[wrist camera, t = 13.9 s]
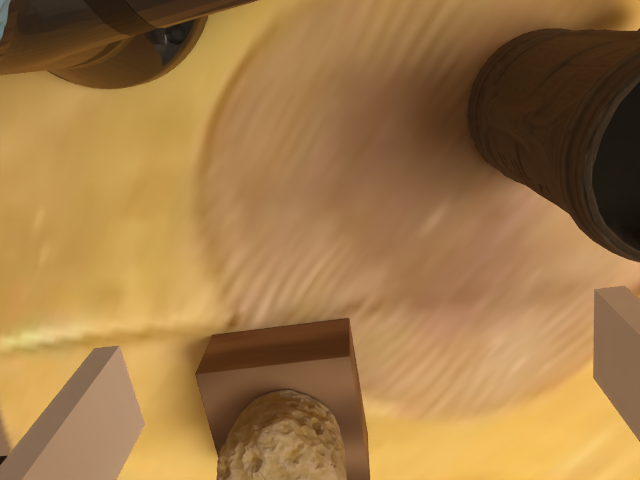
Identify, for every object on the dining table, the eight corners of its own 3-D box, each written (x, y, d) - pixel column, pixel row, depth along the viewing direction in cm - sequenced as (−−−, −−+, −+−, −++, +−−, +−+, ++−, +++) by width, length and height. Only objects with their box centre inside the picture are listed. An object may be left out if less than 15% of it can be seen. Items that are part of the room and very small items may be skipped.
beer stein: (541, 213, 43) (716, 325, 24) (431, 135, 41) (525, 190, 22) (681, 39, 39) (1022, 8, 20) (567, -54, 38) (821, -183, 19)
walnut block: (212, 335, 48) (195, 374, 43) (349, 318, 47) (349, 356, 41) (241, 445, 52) (228, 495, 47) (367, 432, 51) (370, 481, 45)
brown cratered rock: (274, 494, 46) (261, 577, 39) (207, 416, 44) (181, 490, 37) (368, 447, 44) (372, 526, 37) (303, 363, 42) (295, 430, 35)
